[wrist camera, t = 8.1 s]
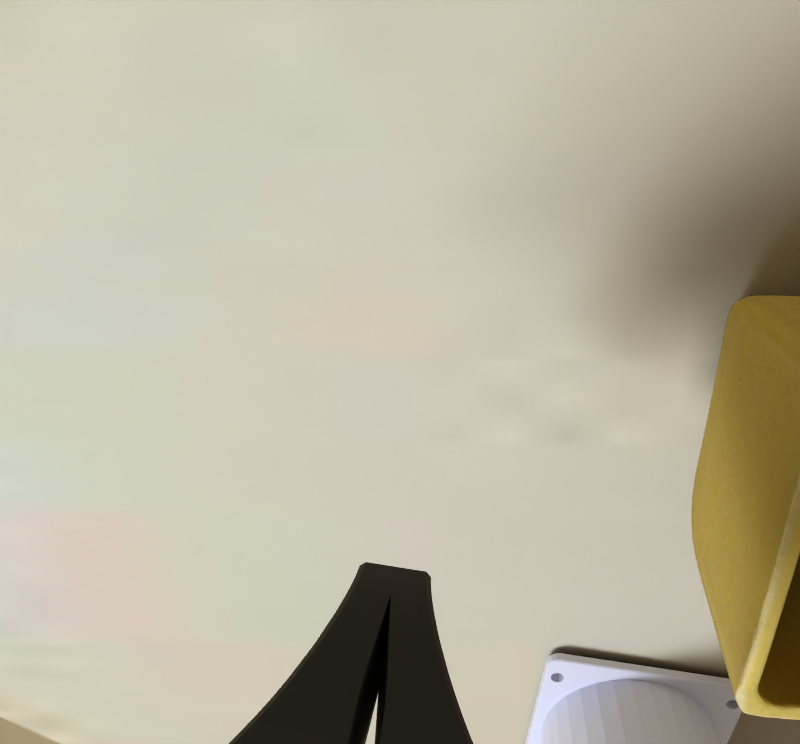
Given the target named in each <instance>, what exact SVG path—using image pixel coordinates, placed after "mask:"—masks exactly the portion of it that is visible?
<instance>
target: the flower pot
mask: <svg viewBox="0 0 800 744" xmlns="http://www.w3.org/2000/svg"><path fill="white" fill-rule="evenodd" d="M692 535H693V544H694V550H695V555H696V560H697V564H698V569H699V572H700V576H701V579H702V583H703V587H704V590H705V594H706V597H707V601H708V604H709V608H710V611H711V615H712V619H713V622H714V626H715V629H716V633H717V637H718V640H719V644H720V647H721V651H722V654H723V658H724V661H725V665H726V668H727V671H728V675H729V678H730V682H731V685H732V689H733V692H734V695H735V699H736V702H737V704H738V706H739V708H740V709H741V711H742V712H744V713H746V714H750V715H755V716H761V717H770V718H781V719H794V720H800V296H778V295H757V296H748V297H745V298H743V299H740V300H739V301H737V302H736V303H735V304H734V306H733V307H732V308H731V310H730V312H729V315H728V318H727V323H726V327H725V333H724V338H723V343H722V348H721V354H720V359H719V364H718V369H717V374H716V379H715V384H714V389H713V394H712V399H711V404H710V409H709V414H708V419H707V424H706V429H705V434H704V438H703V443H702V447H701V452H700V457H699V461H698V466H697V470H696V476H695V482H694V489H693V497H692Z"/></svg>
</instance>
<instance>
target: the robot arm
mask: <svg viewBox="0 0 800 744" xmlns="http://www.w3.org/2000/svg"><path fill="white" fill-rule="evenodd" d="M554 673H559V674H554ZM377 695H378V705H377V720H376V734H375V744H473V742H472V740H471V737H470V735H469V732H468V729H467V727H466V724H465V721H464V719H463V716H462V713H461V710H460V707H459V705H458V702H457V699H456V696H455V693H454V690H453V687H452V683H451V680H450V677H449V673H448V670H447V666H446V663H445V659H444V655H443V651H442V648H441V644H440V640H439V635H438V631H437V626H436V621H435V616H434V610H433V603H432V595H431V577H430V576H429V575H428V573H427V572H424V571H418V570H411V569H405V568H399V567H393V566H386V565H380V564H374V563H367V562H366V563H364V564H362V565H360V567H359V569H358V572H357V574H356V577H355V579H354V581H353V583H352V585H351V587H350V589H349V590H348V592H347V594H346V596H345V598H344V599H343V601H342V603H341V604H340V606H339V608H338V609H337V611H336V613H335V614H334V616H333V617H332V619H331V620H330V622H329V623H328V625H327V626H326V628H325V629H324V631H323V632H322V634H321V635H320V637H319V638H318V640H317V641H316V643H315V644H314V645H313V647H312V648H311V649H310V651H309V652H308V653H307V655H306V656H305V657H304V659H303V660H302V661H301V663H300V664H299V665H298V666H297V668H296V669H295V670H294V672H293V673H292V674H291V676H290V677H289V678H288V679H287V681H286V682H285V683H284V684H283V685H282V687H281V688H280V689H279V690H278V691H277V693H276V694H275V695H274V696H273V697H272V698H271V699H270V701H269V702H268V703H267V704H266V705H265V706H264V707H263V708H262V710H261V711H260V712H259V713H258V714H257V715H256V716H255V717H254V718H253V719H252V720H251V721H250V722H249V723H248V724H247V726H246V727H245V728H244V729H243V730H242V731H241V732H240V733H239V734H238V735H237V736H236V737H235V738H234V739H233V740H232V741H231V742H230V743H229V744H365V742H366V738H367V734H368V731H369V727H370V723H371V719H372V715H373V711H374V707H375V703H376V699H377ZM741 713H742V711H741V709H740V708H739V706H738V704H737V702H736V699H735V695H734V692H733V689H732V685H731V682H730V679H729V678H722V677H715V676H709V675H702V674H695V673H689V672H682V671H675V670H669V669H662V668H656V667H649V666H642V665H636V664H629V663H622V662H616V661H609V660H602V659H596V658H589V657H582V656H576V655H569V654H562V653H555V654H552V655H550V656H549V657H548V658H547V660H546V664H545V668H544V671H543V675H542V679H541V683H540V687H539V691H538V695H537V698H536V702H535V706H534V710H533V714H532V718H531V722H530V725H529V729H528V733H527V737H526V741H525V744H727V743H728V741H729V739H730V737H731V735H732V732H733V730H734V728H735V726H736V724H737V722H738V720H739V718H740V716H741Z"/></svg>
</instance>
